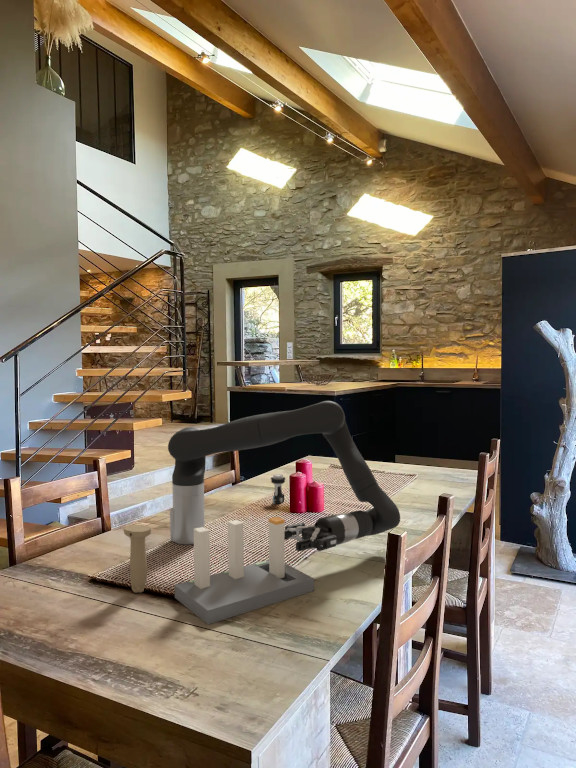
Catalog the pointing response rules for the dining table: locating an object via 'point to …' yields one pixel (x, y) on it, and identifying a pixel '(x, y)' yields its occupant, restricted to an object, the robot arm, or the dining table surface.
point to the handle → (138, 555)
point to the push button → (278, 488)
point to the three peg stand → (235, 581)
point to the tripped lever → (276, 547)
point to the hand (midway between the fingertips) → (286, 541)
